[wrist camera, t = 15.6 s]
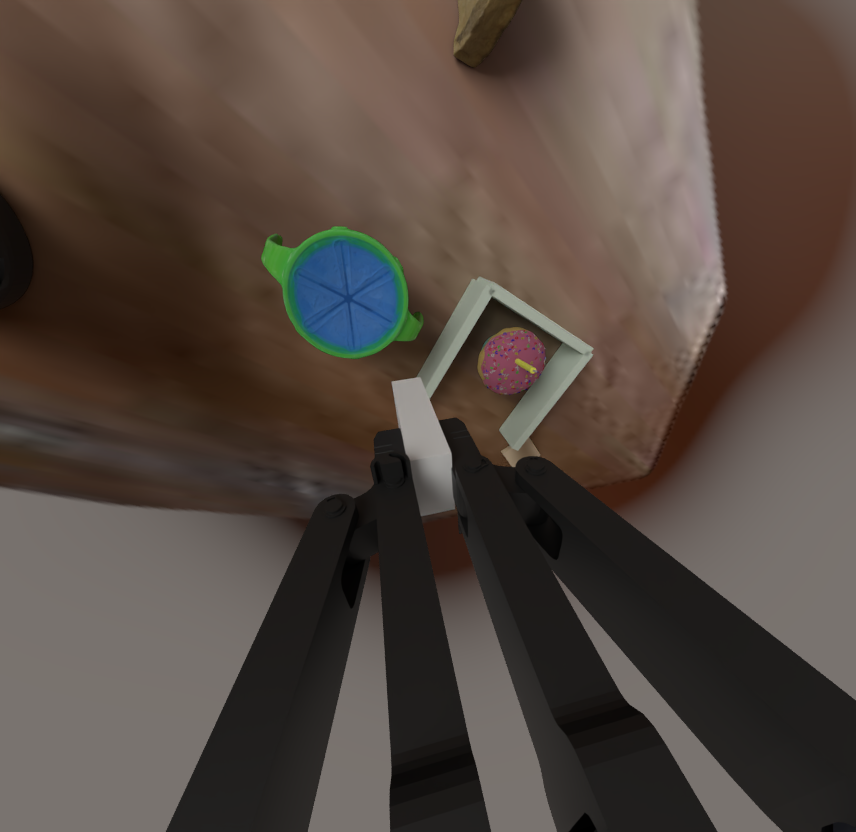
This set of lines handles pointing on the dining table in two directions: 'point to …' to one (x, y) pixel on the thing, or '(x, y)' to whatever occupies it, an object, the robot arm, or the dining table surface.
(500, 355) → the cupcake
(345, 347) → the snack cup
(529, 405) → the tray
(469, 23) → the rock
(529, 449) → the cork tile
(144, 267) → the dining table surface
